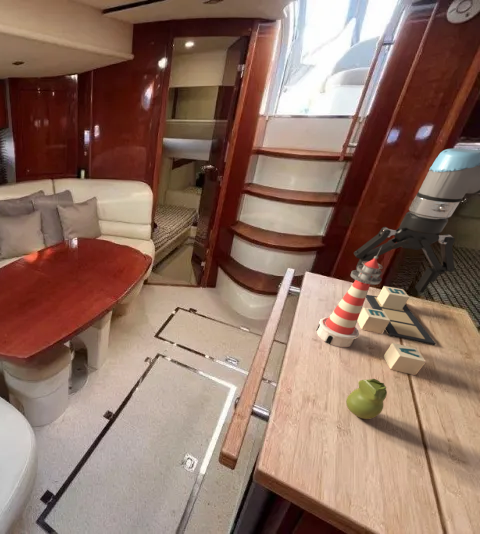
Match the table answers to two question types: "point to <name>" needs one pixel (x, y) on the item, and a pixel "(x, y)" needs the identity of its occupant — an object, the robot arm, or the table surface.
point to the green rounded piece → (367, 399)
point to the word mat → (402, 323)
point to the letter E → (373, 320)
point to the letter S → (393, 297)
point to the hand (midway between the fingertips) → (387, 284)
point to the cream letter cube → (404, 359)
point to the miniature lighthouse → (350, 307)
